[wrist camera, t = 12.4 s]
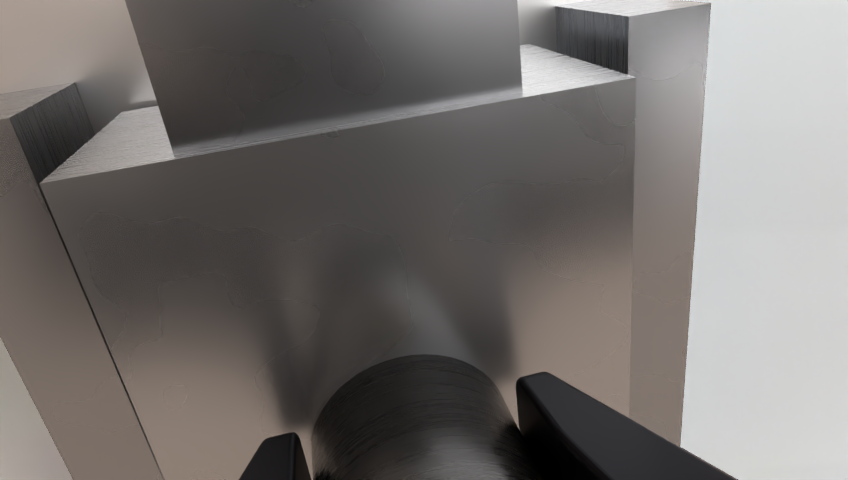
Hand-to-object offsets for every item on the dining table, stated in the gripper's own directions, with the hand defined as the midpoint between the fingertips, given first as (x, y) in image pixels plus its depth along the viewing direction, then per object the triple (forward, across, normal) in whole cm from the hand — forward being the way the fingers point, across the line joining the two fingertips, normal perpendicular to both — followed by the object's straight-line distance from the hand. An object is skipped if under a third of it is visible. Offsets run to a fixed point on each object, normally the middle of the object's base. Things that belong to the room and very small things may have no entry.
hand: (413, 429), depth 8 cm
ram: (+4, 0, -2) cm, 5 cm away
